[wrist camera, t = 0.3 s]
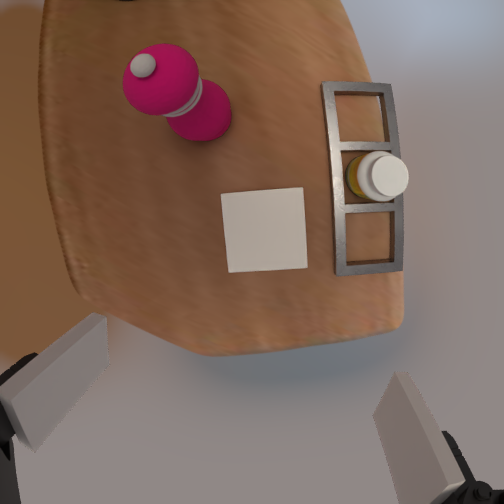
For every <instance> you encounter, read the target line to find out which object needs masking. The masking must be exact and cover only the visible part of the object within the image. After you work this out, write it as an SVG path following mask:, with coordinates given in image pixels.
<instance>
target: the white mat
mask: <svg viewBox="0 0 504 504" xmlns="http://www.w3.org/2000/svg"><path fill="white" fill-rule="evenodd" d="M221 202H222V213H223V223H224V233H225V242H226V252H227V261H228V270H229V273H231V272H249V271H266V270H282V269H298V268H308V267H307V245H306V226H305V210H304V195H303V187H300V188H285V189H270V190H258V191H246V192H235V193H224V194H221Z"/></svg>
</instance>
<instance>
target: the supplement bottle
mask: <svg viewBox="0 0 504 504" xmlns="http://www.w3.org/2000/svg"><path fill="white" fill-rule="evenodd" d="M345 178H346V183H347V185H348V187H349V189H350V190H351V191H352V192H353V193H354V194H355V195H357V196H359V197H362V198H367V199H371V200H375V201H382V202H383V201H389V200H391V199H393V198H395V197H396V196H397V195H399V194H401V193H402V192H403V191H404V190H405V189H406V187H407V184H408V181H409V175H408V170H407V168H406V166H405V164H404V163H403V162H402V161H401V160H400V159H399V158H397V157H395V156H393V155H392V154H390V153H388V152H385V151H375V152H371V153H368V154H365V155H361V156H358V157H356V158H355V159H353V160H352V161H351V162H350V163H349V165H348V167H347V169H346V174H345Z"/></svg>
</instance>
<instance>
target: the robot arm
mask: <svg viewBox="0 0 504 504" xmlns="http://www.w3.org/2000/svg"><path fill="white" fill-rule="evenodd" d="M120 1H131V0H120ZM107 339H108V338H107V319H106V316H103V315H100V314H97V313H94V312H93V313H91V314H90V315H89V316H87V317H86V318H85V319H83V320H82V321H81V322H79V323H78V324H77V325H76V326H74V327H73V328H72V329H70V330H69V331H68V332H67V333H65V334H64V335H63V336H61V337H60V338H59V339H58V340H56V341H55V342H54V343H53V344H51V345H50V346H49V347H48V348H46V349H45V350H44V351H43V352H41V353H40V354H37V353H32V354H29V355H26V356H24V357H23V358H21V359H20V360H19V361H18V362H16V364H14V365H12V366H11V367H10V369H8V370H6V371H5V372H4V373H2V374H1V375H0V504H21V501H20V495H19V489H18V482H17V476H16V468H15V458H14V447H13V441H12V438H11V437H12V436H13V435H14V434H16V436H17V438H18V440H19V442H20V443H21V444H22V445H24V446H25V447H27V448H28V449H30V450H31V451H33V452H34V453H35V452H36V451H37V450H38V448H39V447H40V446H41V445H42V444H43V442H44V441H45V440H46V439H47V437H48V436H49V435H50V434H51V433H52V431H53V430H54V429H55V428H56V427H57V425H58V424H59V423H60V422H61V421H62V419H63V418H64V417H65V416H66V415H67V413H68V412H69V411H70V410H71V409H72V407H73V406H74V405H75V404H76V403H77V402H78V401H79V399H80V398H81V397H82V396H83V395H84V393H85V392H86V391H87V390H88V389H89V388H90V387H91V385H92V384H93V383H94V382H95V381H96V380H97V379H98V377H99V376H100V375H101V374H102V373H103V372H104V371H105V369H106V368H107V367H108V366H109V353H108V340H107ZM373 418H374V421H375V424H376V427H377V430H378V433H379V436H380V440H381V443H382V446H383V449H384V452H385V455H386V459H387V462H388V466H389V469H390V473H391V476H392V479H393V483H394V486H395V490H396V494H397V497H398V501H399V504H504V490H492V488H491V487H490V486H489V484H487V483H485V482H482V481H476V480H475V478H474V477H473V474H472V472H471V470H470V468H469V466H468V464H467V462H466V461H465V458H464V457H463V456H462V453H461V451H460V449H458V445H457V443H456V441H455V440H454V438H453V437H452V436H451V435H450V434H449V433H447V431H441V430H440V428H439V426H438V424H437V423H436V421H435V419H434V417H433V415H432V414H431V412H430V410H429V408H428V407H427V404H426V402H425V401H424V399H423V397H422V395H421V394H420V392H419V390H418V388H417V387H416V385H415V383H414V382H413V380H412V378H411V376H410V375H409V373H408V372H394V374H393V376H392V378H391V380H390V383H389V384H388V387H387V389H386V391H385V393H384V395H383V397H382V399H381V401H380V402H379V404H378V406H377V408H376V410H375V412H374V414H373Z"/></svg>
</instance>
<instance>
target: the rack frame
mask: <svg viewBox="0 0 504 504" xmlns="http://www.w3.org/2000/svg"><path fill="white" fill-rule="evenodd" d="M320 88H321V96H322V103H323V111H324V120H325V128H326V138H327V148H328V159H329V171H330V184H331V200H332V218H333V245H334V273H335V275H336V276H349V275H361V274H374V273H385V272H396V271H403V241H404V219H403V218H404V216H403V215H404V213H403V192H402V193H401V194H399V195H397V196H396V197H395V198H393V199H391V200H389V202H368V203H344V187H343V172H342V160H341V151H386V152H388V153H390V154H392V155H393V156H395V157H397V158H399V159H400V160H401V156H400V146H399V135H398V127H397V120H396V113H395V106H394V99H393V93H392V87H391V84H384V83H369V82H336V81H324V82H322V83H321V85H320ZM334 95H370V96H379V98H380V104H381V111H382V119H383V126H384V135H385V142H340V139H339V130H338V121H337V113H336V105H335V98H334ZM380 211H390V259H380V260H367V261H353V262H346V227H345V213H356V212H380Z"/></svg>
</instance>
